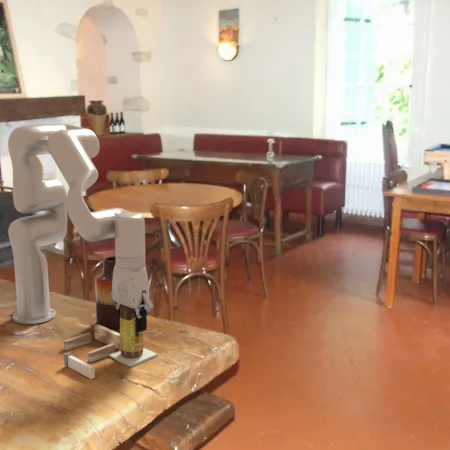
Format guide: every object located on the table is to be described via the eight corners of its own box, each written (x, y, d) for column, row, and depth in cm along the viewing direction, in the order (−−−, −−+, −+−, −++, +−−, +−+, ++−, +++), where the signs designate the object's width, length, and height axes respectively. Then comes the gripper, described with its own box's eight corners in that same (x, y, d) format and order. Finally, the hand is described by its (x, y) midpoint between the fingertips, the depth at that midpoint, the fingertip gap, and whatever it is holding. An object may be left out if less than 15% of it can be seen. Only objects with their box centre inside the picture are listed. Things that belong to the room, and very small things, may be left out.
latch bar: (64, 365, 151) (63, 353, 151) (69, 363, 153) (69, 351, 152) (90, 379, 144) (89, 367, 144) (95, 377, 145) (95, 365, 145)
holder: (64, 349, 162) (63, 335, 161) (98, 337, 170) (97, 324, 169) (90, 362, 154) (89, 348, 153) (124, 349, 162) (124, 335, 161)
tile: (109, 356, 157) (108, 354, 157) (135, 346, 164) (135, 344, 164) (130, 367, 152) (130, 364, 151) (157, 356, 158) (157, 353, 158)
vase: (140, 321, 182) (138, 257, 177) (116, 333, 173) (113, 265, 168) (114, 314, 187) (111, 251, 183) (89, 325, 178) (86, 259, 174)
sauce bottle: (139, 360, 154) (138, 287, 149) (116, 357, 155) (115, 285, 151) (147, 349, 160) (147, 279, 156) (125, 346, 162) (124, 277, 157)
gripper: (97, 257, 155) (100, 322, 159) (141, 271, 144) (142, 340, 148) (120, 252, 160) (122, 314, 164) (164, 265, 149) (165, 332, 153)
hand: (132, 326), depth 156 cm, fingers open, 6 cm apart
